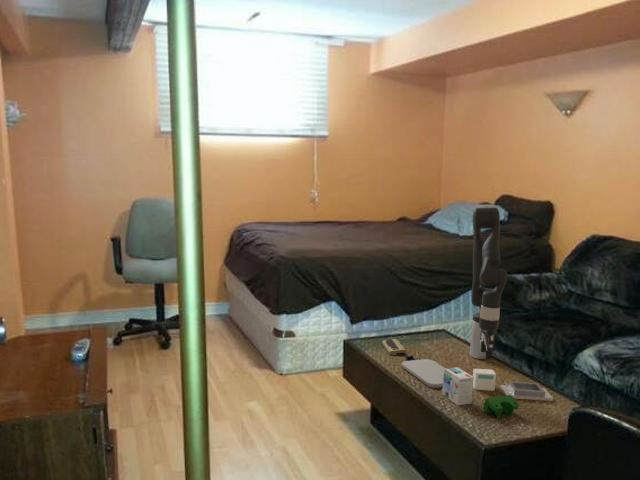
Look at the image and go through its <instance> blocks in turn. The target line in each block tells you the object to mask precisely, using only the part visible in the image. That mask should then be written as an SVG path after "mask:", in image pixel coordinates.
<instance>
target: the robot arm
mask: <svg viewBox="0 0 640 480" xmlns="http://www.w3.org/2000/svg"><path fill="white" fill-rule="evenodd" d="M500 218H501V216H500V211H499V209H498V208H497V207H493V206H492V207H491V206H490V207H476V208H475V209H473V213H472V230H473V232H472V233H473V247H472V249H473V250H472V251H473V252H472V285H471V286H472V287H471V295H470V296H471V299H470V300H471V304H472V305H473V306H474V307H478V308H480V310H479V312H475V313H474V314H473V315H472V325H471V335H470V336H471V337H470V345H469V346H470V347H469V356H470V357H472V358H474V359H479V360H486V361H487V360H488V361H489V360H490V361H491V360H492V356H493V352H494V351H495V346H496V345H495V344H496V336H495V334H494V332H495V331H497V330H499V325H500V312H501V309H500V307H501V298H502V293H503V291H504V288H505V286H506V284H507V280H508V273H507V271H506V270H505V269H504V268H498V267H499V266H500V265H501V262H502V261H501V252H500V238H501V237H500V236H501V235H500V234H501V231H500V230H501V219H500ZM485 229H487V230H490V229H491V232H490V234H489V235H488V237H487V238H486V239H485V237H484V235H483V233H482V230H485ZM481 284H482V285H483V286H489V287H490V286H491V287H494V288H487V287H481Z"/></svg>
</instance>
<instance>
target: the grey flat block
mask: <svg viewBox="0 0 640 480" xmlns="http://www.w3.org/2000/svg"><path fill="white" fill-rule="evenodd" d="M499 389H500V391H501V392H502V393H503V396H507V395H511V396H512V397H513V398H514V399H515V400H517V399H518V400H519V399H520V400H534V401H543V402H544V401H545V402H546V401H547V402H553V401H554V397H553V396H552V395H551V393H549V392H548V390H547V389H546V388H545V387H542V386H541V385H540V384H539V383H538V382H526V381H525V382H524V381H512V380H511V381H510V380H509V381H508V384H507V385H506V384H505V385H504V384H499Z"/></svg>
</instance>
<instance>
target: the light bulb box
mask: <svg viewBox="0 0 640 480" xmlns="http://www.w3.org/2000/svg"><path fill="white" fill-rule="evenodd" d="M473 381H474V377H473V375H471V374H470V373H468V372H466V371H465V370H463V369H462V368H460V367H458V366H457V367H449V368H446V369H444V378H443V387H442V389H441V391H442V392H441V395H443V396H444V397H445V398H446V399H448V400H449V401H451V402H452V403H454V404H455V405H456V406H461V405H463V406H464V405H468V404H472V399H473V398H472V397H473V391H474V390H473V389H474V387H473Z"/></svg>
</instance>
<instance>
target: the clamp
mask: <svg viewBox="0 0 640 480" xmlns="http://www.w3.org/2000/svg"><path fill="white" fill-rule="evenodd" d="M519 407H520V402H518V401H517V399H514V398H513V397H512V396H511V395H507V396H505V395H501V396H495V397H487V398H485V400H484V403H483V407H482V410H483V411H484V412H485V413H486V414H487V415H489V414H495V416H496V417H497V418H498V419H501V417H502V413H505V414H507V415H508V416H509V417H512V415H513V412H514V410H517V409H519Z"/></svg>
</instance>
